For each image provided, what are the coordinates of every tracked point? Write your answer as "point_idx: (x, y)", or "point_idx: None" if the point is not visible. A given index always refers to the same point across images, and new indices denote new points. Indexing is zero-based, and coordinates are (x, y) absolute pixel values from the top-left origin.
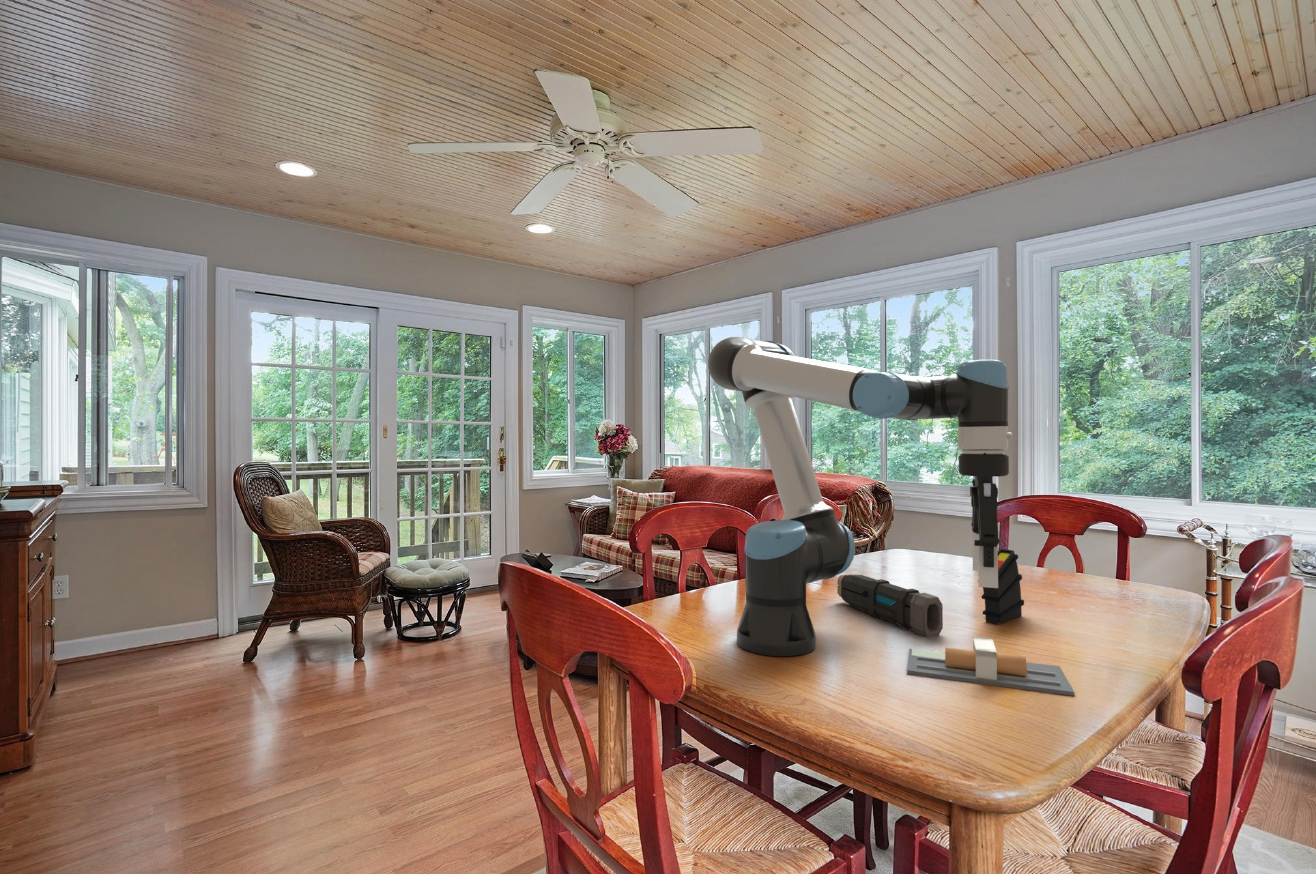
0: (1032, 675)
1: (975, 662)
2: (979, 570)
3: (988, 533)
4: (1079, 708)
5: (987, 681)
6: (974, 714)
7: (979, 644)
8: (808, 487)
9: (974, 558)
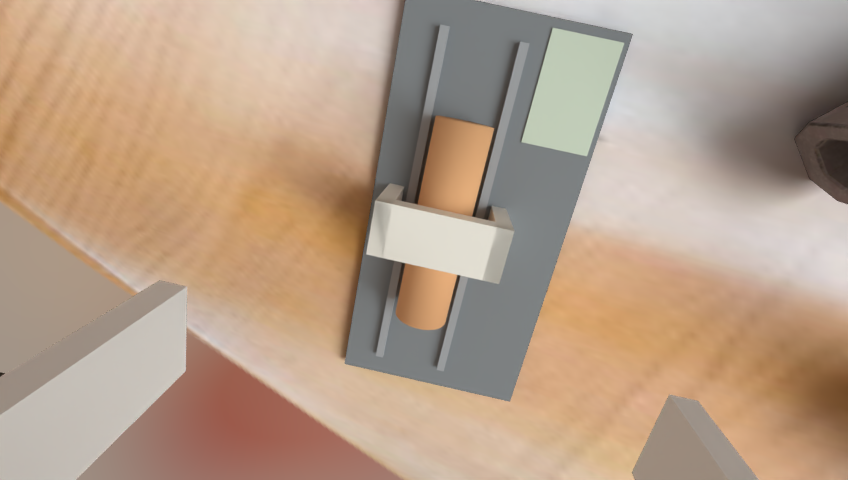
0: None
1: (419, 197)
2: (73, 335)
3: None
4: (282, 340)
5: (371, 204)
6: (175, 115)
7: (433, 227)
8: None
9: (712, 470)
